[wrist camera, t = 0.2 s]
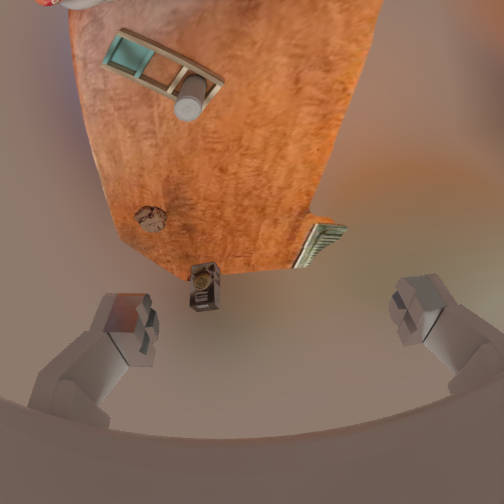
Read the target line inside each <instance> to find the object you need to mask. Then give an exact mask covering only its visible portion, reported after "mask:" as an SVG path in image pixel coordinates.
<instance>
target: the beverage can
mask: <svg viewBox="0 0 504 504" xmlns="http://www.w3.org/2000/svg"><path fill="white" fill-rule="evenodd" d="M206 86H207V84H206V81H205V79H204V78H203V77H201V76H198V75H191V76H189V77H187V78H186V79H185V81H184V82H183V85H182V87H181V90H180V92H179V95H178V97H177V99H176V102H175V105H174V113H175V115H176V117H178V118H179V119H180V120H183V121H192V120H195V119H196V118H198V116H199V115H200V114H201V111H202V107H203V102H204V97H205V92H206Z"/></svg>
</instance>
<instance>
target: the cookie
mask: <svg viewBox="0 0 504 504" xmlns="http://www.w3.org/2000/svg"><path fill="white" fill-rule="evenodd" d="M166 219H167V215H166V214H165V213H164V212H163V211H162V210H161V209H158V208H157V207H150V206H145V207H142V208H141V209H140V210H139V211H138V212H137V213H136V215H135V220H136V221H137V222H139V225H140V226H141V227H142V228H143V230H144V231H147V232H152V233H153V232H154V233H156V232H160V231H161V230H162V229H164V228H165V222H166Z"/></svg>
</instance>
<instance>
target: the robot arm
mask: <svg viewBox="0 0 504 504" xmlns="http://www.w3.org/2000/svg"><path fill="white" fill-rule="evenodd" d="M396 288H397V292H395V293H394V294H393V295H392V297H391V300H390V302H389V312H390V316H391V319H392V321H393V322H394V323H395V324H397V325H398V326H399V327H398V331H397V332H398V334H399V337H400V338H401V341H402V343H403V346H409V345H414V344H419V343H423V344H424V345H425V346H426V347H427V348H428V349H429V350H430V351H431V352H432V353H433V354H434V355H435V356H436V357H438V358H439V359H440V360H441V361H442V362H443V363H444V364H445V365H446V366H447V367H448V368H449V369H450V370H451V371H452V372H453V373H454V374H455V375H456V376H455V377H454V378H453V379H452V380H451V381H450V382H449V384H448V388H449V391H450V394H451V395H450V396H448V397H445V398H443V399H440V400H438V401H435V402H432V403H429V404H427V405H424V406H421V407H418V408H415V409H412V410H408V411H405V412H402V413H399V414H395V415H392V416H388V417H384V418H381V419H377V420H373V421H369V422H364V423H360V424H355V425H351V426H346V427H341V428H335V429H330V430H324V431H318V432H311V433H303V434H295V435H286V436H276V437H262V438H245V439H244V438H242V439H199V438H198V439H197V438H180V437H165V436H156V435H147V434H139V433H132V432H125V431H118V430H113V429H109V423H110V417H109V415H108V414H107V413H106V412H105V411H103V410H102V409H101V408H100V407H99V405H100V403H101V402H102V401H103V400H104V398H105V397H106V396H107V395H108V393H109V392H110V391H111V390H112V388H113V387H114V386H115V384H116V383H117V382H118V381H119V379H120V378H121V377H122V375H124V373H125V372H126V371H127V370H128V368H129V366H135V367H153V361H154V356H155V348H154V346H153V343H154V342H155V341H156V340H157V339H158V335H159V320H158V316H157V313H156V311H155V310H153V309H152V308H151V305H152V300H151V298H150V295H149V294H147V293H145V294H144V293H106V294H105V295H103V297H102V299H101V301H100V304H99V306H98V309H97V311H96V314H95V316H94V319H93V322H92V324H91V326H90V329H89V331H84V333H82V334H81V335H80V336H79V337H78V338H76V339H75V340H74V341H73V342H72V343H71V344H70V345H69V346H67V347H66V348H65V349H64V350H63V351H62V352H61V353H60V354H59V355H57V356H56V357H55V358H54V359H53V360H52V361H51V362H50V363H49V364H48V365H46V366H45V367H44V368H43V369H42V370H41V371H40V372H39V373H38V376H37V379H36V381H35V385H34V387H33V390H32V394H31V397H30V399H29V403H28V406H27V407H26V406H23V405H20V404H18V403H15V402H13V401H10V400H7V399H5V398H3V397H0V504H504V334H503V333H502V332H500V331H499V330H498V329H496V328H495V327H493V326H492V325H491V324H489V323H488V322H486V321H485V320H483V319H482V318H480V317H479V316H478V315H476V314H475V313H473V312H472V311H470V310H469V309H467V308H466V307H464V306H463V305H461V304H460V305H458V304H457V302H456V301H455V299H454V298H453V296H452V295H451V294H450V292H449V290H448V289H447V287H446V286H445V284H444V283H443V281H442V280H441V278H440V277H439V276H438V275H437V274H435V273H434V274H426V275H419V276H411V277H402V278H400V279H399V280H398V282H397V284H396Z"/></svg>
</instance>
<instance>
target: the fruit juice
mask: <svg viewBox="0 0 504 504" xmlns="http://www.w3.org/2000/svg"><path fill="white" fill-rule="evenodd" d="M35 1H36V2H37V3H38V4H40V5H43V6H51V5H55V4H58V3H60V4H61V5H63V6H64V7H66V8H68V9H72V10H84V9H89V8H93V7H95V6H98V5H102V4H108V3H112V2H115V1H118V0H35Z"/></svg>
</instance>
